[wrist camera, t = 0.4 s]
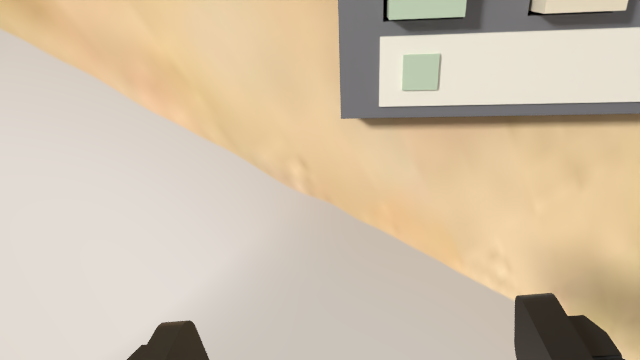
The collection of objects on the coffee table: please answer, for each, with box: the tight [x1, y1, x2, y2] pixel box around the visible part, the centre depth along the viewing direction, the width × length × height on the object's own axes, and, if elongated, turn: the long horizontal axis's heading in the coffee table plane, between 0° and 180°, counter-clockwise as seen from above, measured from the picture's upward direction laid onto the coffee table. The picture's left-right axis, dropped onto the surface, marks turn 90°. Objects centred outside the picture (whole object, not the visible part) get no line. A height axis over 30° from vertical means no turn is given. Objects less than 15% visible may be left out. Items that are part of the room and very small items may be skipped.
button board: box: [338, 0, 640, 119], centre depth 30 cm, size 16×32×4 cm, turn 93°
